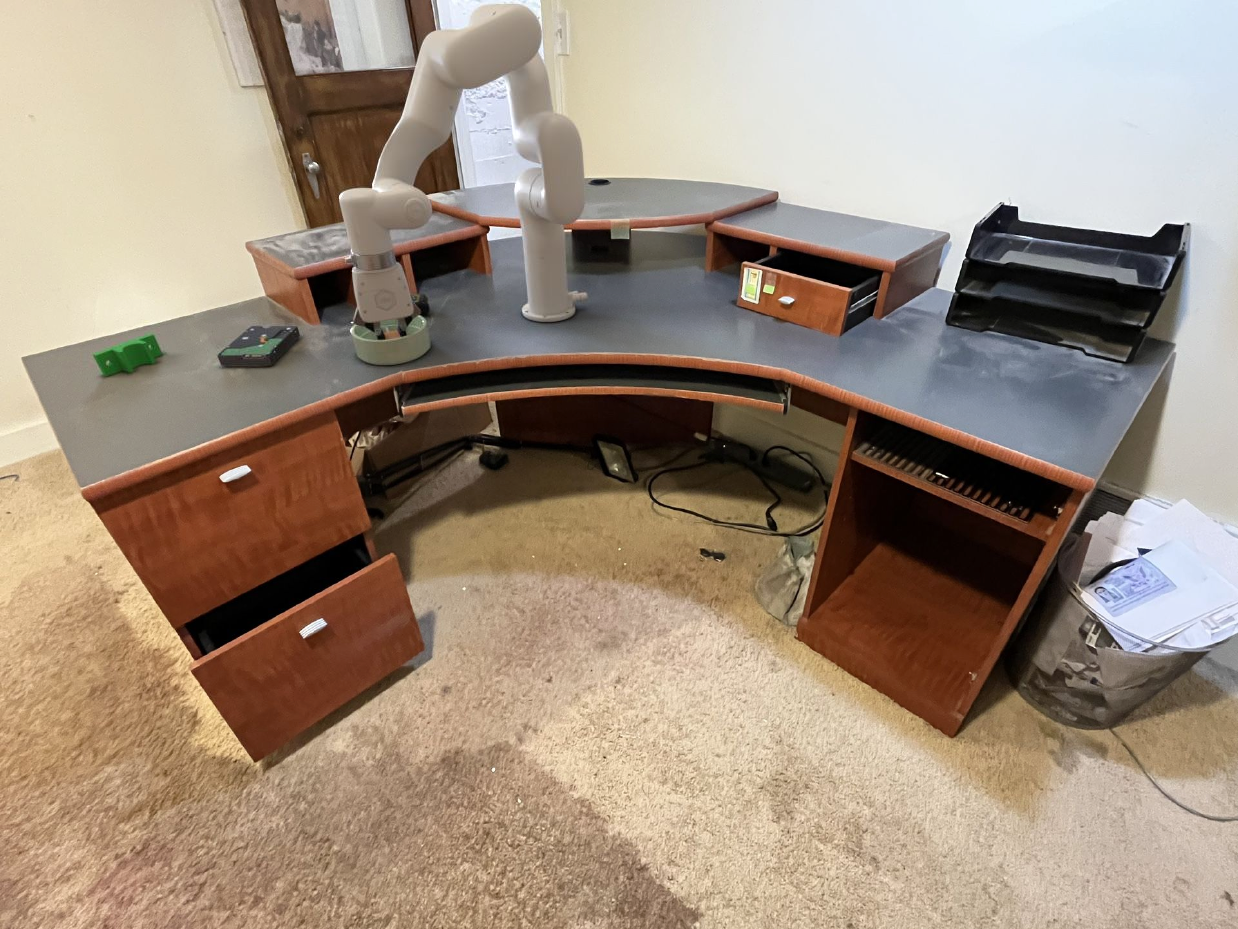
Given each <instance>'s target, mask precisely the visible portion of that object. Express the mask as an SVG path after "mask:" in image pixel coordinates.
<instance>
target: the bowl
mask: <svg viewBox="0 0 1238 929" xmlns="http://www.w3.org/2000/svg"><path fill="white" fill-rule="evenodd" d="M380 326H381V329H382V330H383V333H384V332H387V331H386V329H385V328H384V327H388V328H389V331H395V330H397V328H398V327H397V326H398V321H397V319H392V320H386V321H380ZM349 331H350V336H351V338H352V342H353V347H354V350H355V354H356V357H357V358H359V359H360V360H361V361H363V362H365V363H367V364H370V365H377V366H394V365H400V364H405V363H408V362H412V361H414V360H416V359H419V358H421V357H422V356H423V355H425V353H427V352H428V351H429V349H430V348H431V344H432V343H431V338H430V333H429V328H428V322H427V320H426V318H425V317H423V316H422V315H418V316H417V317H416V318H414V319H413V320H412V321H411V323H410V324H409V325H408V327H407V330H406V334H407V336H404V337H400V338H395V339H388V340H377V336H376V334H375V333H374V332H372V331H371V330H369V329H367V328H366V327H362V326H358V325H355V324H354V325H352V326H351V329H350V330H349Z"/></svg>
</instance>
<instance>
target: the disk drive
mask: <svg viewBox="0 0 1238 929" xmlns="http://www.w3.org/2000/svg"><path fill="white" fill-rule="evenodd" d="M300 337H301V334H300V331H299V327H298V326H297V325H271V326H269V327H263V326H262V325H250V327H248V328H247V329H246V330H245V331H244V332H242V333H241V334H240V335H239V336H237V338H235V339H234V340H233V341H232V342H231V343H230V344H228V345H227V346H226V347H224V348H223V349H222V350H221V351H220V352H219V353H218V354H217V358H218V362H219V363H220V366H223V367H224V366H226V367H268V366H272V365H274V364H275V363H276V362H277V361H278V360H279V359H280V358H281V357H282V356H283V355H284V353H285V352H287V351H288V350H289V348H290V347H291V346H292V345H293V344H295V343H296V341H297V340H298V339H299V338H300Z"/></svg>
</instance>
